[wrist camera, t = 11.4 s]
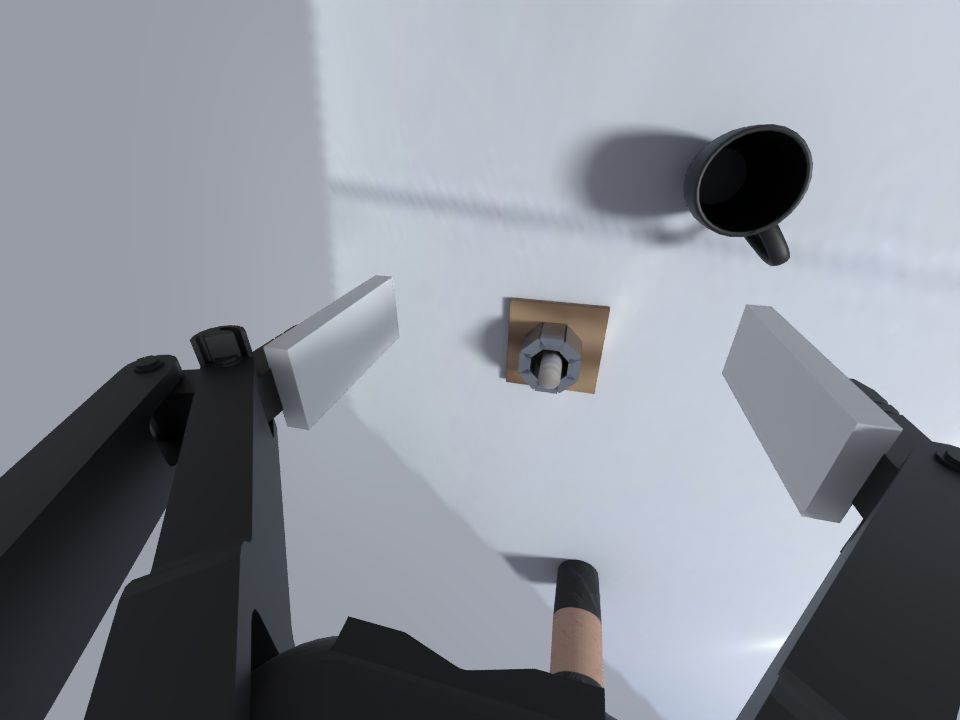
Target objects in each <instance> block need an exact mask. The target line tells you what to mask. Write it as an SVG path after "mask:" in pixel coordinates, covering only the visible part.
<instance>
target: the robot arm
mask: <svg viewBox="0 0 960 720" xmlns="http://www.w3.org/2000/svg"><path fill="white" fill-rule="evenodd" d="M398 338H399V330H398V321H397V312H396V303H395V294H394V285H393V277H390V276H377V275H375V276H374V277H372V278H371V279H369V280H368V281H366V282H364V283H363V284H361V285H360V286H358V287H356V288H355V289H353V290H352V291H350V292H349V293H347V294H345V295H344V296H342V297H341V298H339V299H338V300H336V301H334V302H333V303H331V304H330V305H328V306H327V307H325V308H323V309H322V310H321V311H319V312H317V313H316V314H314V315H313V316H311V317H309V318H308V319H306V320H305V321H303V322H301V323H300V324H298V325H295V326H293V327H291V328H290V329H288V330H287V331H285V332H284V334H280V335H279V336H277V337H276V338H275V339H272V340H271V341H269V342H268V343H266V344H264V345H263V346H261V347H260V348H258V349H256V350H255V351H253V352H252V349H251V346H250V343H249V340H248V337H247V334H246V331H245V329H244V328H243V327H240V326H232V325H229V326H219V327H215V328H210V329H207V330H205V331H202V332H199V333H198V334H196V335H194V336H193V337H192V338H191V339H190V342H191V344H192V346H193V349H194V351H195V354H196V356H197V359H198V361H199V364H200V366H201V367H200V369H196V370H182V369H181V366H180V364H179V362H178V360H177V358H176V357H175V356H171V355H157V356H152V355H151V356H146V357H145V358H144V357H143V358H140V359H137V361H135V362H132V363H130V364H128V365H127V366H125V367H124V368H122V369H121V370H120V371H119V372H118V373H116V374H115V375H114V376H113V377H112V378H111V379H110V380H109V381H107V382H106V383H105V384H104V385H103V386H102V387H101V388H100V389H99V390H97V392H95V393H94V394H93V395H92V396H91V397H90V398H89V399H87V401H85V402H84V403H83V404H82V405H81V406H80V407H78V409H76V410H75V411H74V412H73V413H72V414H71V415H70V416H68V417H67V418H66V419H65V420H64V421H63V422H62V423H61V424H60V425H58V426H57V427H56V428H55V429H54V430H53V431H52V432H51V433H49V434H48V436H46V437H45V438H44V439H43V440H42V441H41V442H39V443H38V444H37V445H36V446H35V447H34V448H33V449H32V450H31V451H29V452H28V453H27V454H26V455H25V456H24V457H23V458H22V459H21V460H19V461H18V462H17V463H16V464H15V465H14V466H13V467H12V468H10V469H9V470H8V471H7V472H6V473H5V474H4V475H3V476H1V477H0V720H44V718H45V717H46V715H47V713H48V712H49V710H50V709H51V707H52V705H53V703H54V702H55V700H56V698H57V696H58V695H59V693H60V691H61V689H62V688H63V686H64V684H65V682H66V681H67V679H68V677H69V676H70V674H71V672H72V670H73V668H74V667H75V665H76V663H77V662H78V660H79V658H80V656H81V655H82V653H83V651H84V649H85V648H86V646H87V644H88V643H89V641H90V639H91V637H92V636H93V634H94V632H95V630H96V629H97V627H98V625H99V623H100V622H101V620H102V618H103V616H104V615H105V613H106V611H107V609H108V608H109V606H110V604H111V603H112V601H113V599H114V597H115V595H116V594H117V592H118V590H119V589H120V587H121V585H122V583H123V582H124V580H125V578H126V576H127V575H128V573H129V571H130V569H131V568H132V566H133V564H134V562H135V561H136V559H137V557H138V556H139V554H140V552H141V550H142V549H143V547H144V545H145V543H146V542H147V540H148V538H149V536H150V534H151V533H152V531H153V529H154V528H155V526H156V524H157V522H158V521H159V519H160V517H161V516H162V514H163V512H164V510H165V509H166V512H165V516H164V521H163V524H162V529H161V533H160V537H159V541H158V545H157V549H156V554H155V557H154V562H153V566H152V570H151V572H150V574H149V575H146V576H143V577H140V578H137V579H134V580H132V581H131V582H130V583H129V584H128V585H127V586H126V587H125V589H124V591H123V593H122V595H121V597H120V600H119V603H118V606H117V609H116V613H115V616H114V620H113V623H112V626H111V630H110V633H109V637H108V640H107V643H106V647H105V650H104V653H103V657H102V660H101V664H100V667H99V670H98V674H97V677H96V680H95V684H94V687H93V691H92V694H91V698H90V701H89V704H88V707H87V711H86V714H85V718H84V720H617V719H615V718H613V717H612V716H610V715H609V714H607V713H606V712H605V697H604V696H605V692H604V688H601V687H598V686H594V685H591V684H587V683H584V682H580V681H577V680H573V679H569V678H566V677H562V676H559V675H555V674H552V673H548V672H544V671H541V670H537V669H508V670H507V669H506V670H463V669H460V668H458V667H456V666H455V665H453V664H452V663H450V662H449V661H447V660H446V659H444V658H443V657H441V656H440V655H438V654H437V653H435V652H434V651H432V650H430V649H429V648H428V647H426V646H425V645H423V644H422V643H420V642H419V641H417V640H416V639H414V638H413V637H411V636H410V635H408V634H407V633H405V632H402V631H398V630H395V629H391V628H388V627H384V626H381V625H377V624H373V623H370V622H366V621H363V620H359V619H356V618H352V617H349V616H348V618H347V620H346V623H345V624H344V626H343V628H342V630H341V632H340V634H339V636H332V637H326V638H321V639H316V640H313V641H310V642H307V643H304V644H301V645H298V646H296V647H295V644H294V640H293V635H292V627H291V614H290V601H289V587H288V573H287V560H286V547H285V532H284V518H283V504H282V491H281V478H280V464H279V450H278V436H277V427H276V424H275V420H274V417H276V416H277V415H278V414H279V413H280V412H281V411H282V410H283V414H284V417H285V420H286V423H287V426H289V427H295V428H300V429H306V430H310V429H311V428H312V427H313V426H314V425H315V424H316V423H317V422H318V420H319V419H320V418H321V417H322V416H323V415H324V414H325V413H326V412H327V411H328V410H329V409H330V408H331V407H332V406H333V405H334V404H335V403H336V402H337V401H338V400H339V399H340V398H341V397H342V396H343V395H344V394H345V393H346V392H347V390H348V389H349V388H350V387H351V386H352V385H353V384H354V383H355V382H356V381H357V380H358V379H359V378H360V377H361V376H362V375H363V374H364V373H365V372H366V371H367V370H368V369H369V368H370V367H371V366H372V365H373V364H374V363H375V361H376V360H377V359H378V358H379V357H380V356H381V355H382V354H383V353H384V352H385V351H386V350H387V349H388V348H389V347H390V346H391V345H392V344H393V343H394V342H395V341H396V340H397V339H398ZM722 374H723V376H724V378H725V380H726V381H727V383H728V385H729V387H730V389H731V390H732V392H733V394H734V396H735V398H736V399H737V401H738V403H739V405H740V407H741V408H742V410H743V412H744V414H745V415H746V417H747V419H748V421H749V423H750V424H751V426H752V428H753V430H754V432H755V433H756V435H757V437H758V439H759V441H760V442H761V444H762V446H763V448H764V449H765V451H766V453H767V455H768V457H769V458H770V460H771V462H772V464H773V466H774V467H775V469H776V471H777V473H778V475H779V476H780V478H781V480H782V482H783V483H784V485H785V487H786V489H787V491H788V492H789V494H790V496H791V498H792V500H793V501H794V503H795V505H796V507H797V509H798V510H799V512H800V514H801V516H802V517H808V518H814V519H820V520H825V521H831V522H837V523H840V522H841V521H842V519H843V518H844V516H845V515H846V513H847V512H848V510H849V509H850V507H851V506H852V504H853V505H854V506H855V508H856V509H857V511H858V512H859V513H860V515H861V516H862V518H863V520H862V522H861V523H860V524H859V526H858V527H857V529H856V530H855V531H854V533H853V534H852V536H851V537H850V538H849V540H848V541H847V543H846V544H845V545H844V547H843V548H842V550H841V551H840V552H841V554H840V555H839V557H838V559H837V560H836V562H835V563H834V565H833V567H832V568H831V570H830V571H829V573H828V574H827V576H826V578H825V579H824V581H823V582H822V584H821V586H820V587H819V589H818V590H817V592H816V594H815V595H814V597H813V598H812V600H811V601H810V603H809V605H808V606H807V608H806V609H805V611H804V613H803V614H802V616H801V617H800V619H799V621H798V622H797V624H796V625H795V627H794V628H793V630H792V632H791V633H790V635H789V636H788V638H787V640H786V641H785V643H784V644H783V646H782V647H781V649H780V651H779V652H778V654H777V655H776V657H775V659H774V660H773V662H772V663H771V665H770V667H769V668H768V670H767V671H766V673H765V674H764V676H763V678H762V679H761V681H760V682H759V684H758V686H757V687H756V689H755V690H754V692H753V694H752V695H751V697H750V698H749V700H748V701H747V703H746V705H745V706H744V708H743V709H742V711H741V713H740V714H739V716H738V717H737V719H736V720H956V719H957V714H958V711H959V707H960V448H958V447H955V446H952V445H948V444H943V443H937V442H932V441H931V440H930V439H929V438H928V437H926V436H925V435H924V434H923V433H922V432H921V431H920V430H919V429H917V428H916V427H915V426H914V425H913V424H912V423H911V422H910V421H908V420H907V419H906V418H905V417H904V416H903V415H899V412H898V411H897V410H896V409H895V408H894V407H893V406H891V405H888V402H887V401H886V400H885V399H884V398H882V397H881V396H880V395H879V394H878V393H877V392H876V391H875V390H873V389H871V388H869V387H867V386H866V385H864V384H862V383H860V382H858V381H856V380H855V379H849V378H848V377H846V376H845V375H844V374H843V373H842V372H841V371H840V370H839V369H838V368H837V367H836V366H835V365H834V364H832V363H831V362H830V361H829V360H828V359H827V358H826V357H825V356H824V355H823V354H822V353H821V352H820V351H819V350H817V349H816V348H815V347H814V346H813V345H812V344H811V343H810V342H809V341H808V340H807V339H806V338H805V337H803V336H802V335H801V334H800V333H799V332H798V331H797V330H796V329H795V328H794V327H793V326H792V325H791V324H789V323H788V322H787V321H786V320H785V319H784V318H783V317H782V316H781V315H780V314H779V313H778V312H777V311H776V310H774V309H773V308H772V307H770V306H757V305H746V307H745V310H744V312H743V315H742V318H741V321H740V324H739V327H738V329H737V332H736V335H735V338H734V341H733V343H732V346H731V349H730V352H729V355H728V358H727V360H726V363H725V366H724V369H723V372H722ZM166 507H167V508H166Z"/></svg>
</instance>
